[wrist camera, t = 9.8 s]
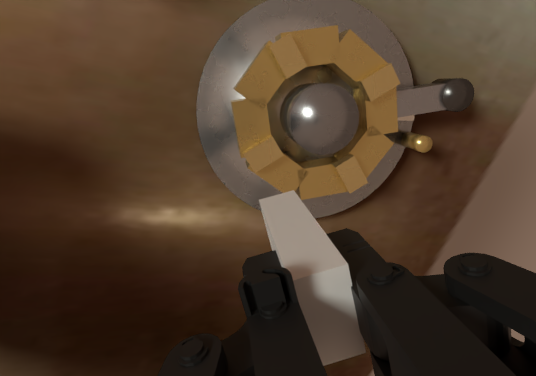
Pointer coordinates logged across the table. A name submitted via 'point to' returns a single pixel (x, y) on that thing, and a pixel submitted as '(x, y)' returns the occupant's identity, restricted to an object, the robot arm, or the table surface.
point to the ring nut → (365, 94)
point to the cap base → (297, 99)
